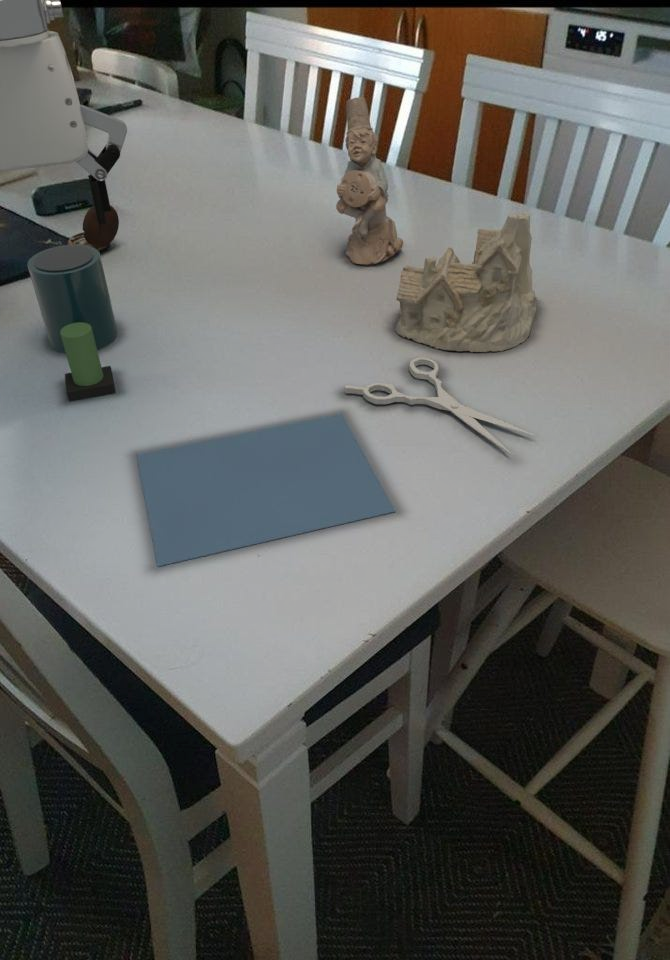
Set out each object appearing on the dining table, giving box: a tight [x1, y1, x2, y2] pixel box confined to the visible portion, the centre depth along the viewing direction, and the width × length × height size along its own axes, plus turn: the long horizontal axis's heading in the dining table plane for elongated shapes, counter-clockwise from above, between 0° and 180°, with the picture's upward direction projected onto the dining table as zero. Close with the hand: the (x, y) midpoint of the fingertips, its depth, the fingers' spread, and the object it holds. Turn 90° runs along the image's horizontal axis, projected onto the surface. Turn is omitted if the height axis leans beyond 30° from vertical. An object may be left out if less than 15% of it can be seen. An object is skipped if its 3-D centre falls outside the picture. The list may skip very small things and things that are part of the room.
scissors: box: [343, 357, 537, 457], centre depth 83 cm, size 11×1×20 cm
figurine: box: [335, 96, 404, 265], centre depth 107 cm, size 9×8×20 cm
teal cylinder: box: [27, 244, 119, 354], centre depth 95 cm, size 8×8×10 cm
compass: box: [65, 201, 120, 253], centre depth 115 cm, size 8×8×7 cm
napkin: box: [136, 413, 396, 568], centre depth 75 cm, size 21×16×1 cm
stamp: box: [60, 322, 116, 402], centre depth 87 cm, size 5×4×7 cm
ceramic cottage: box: [395, 211, 538, 353], centre depth 94 cm, size 16×16×15 cm
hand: (49, 226), depth 76 cm, fingers open, 9 cm apart
